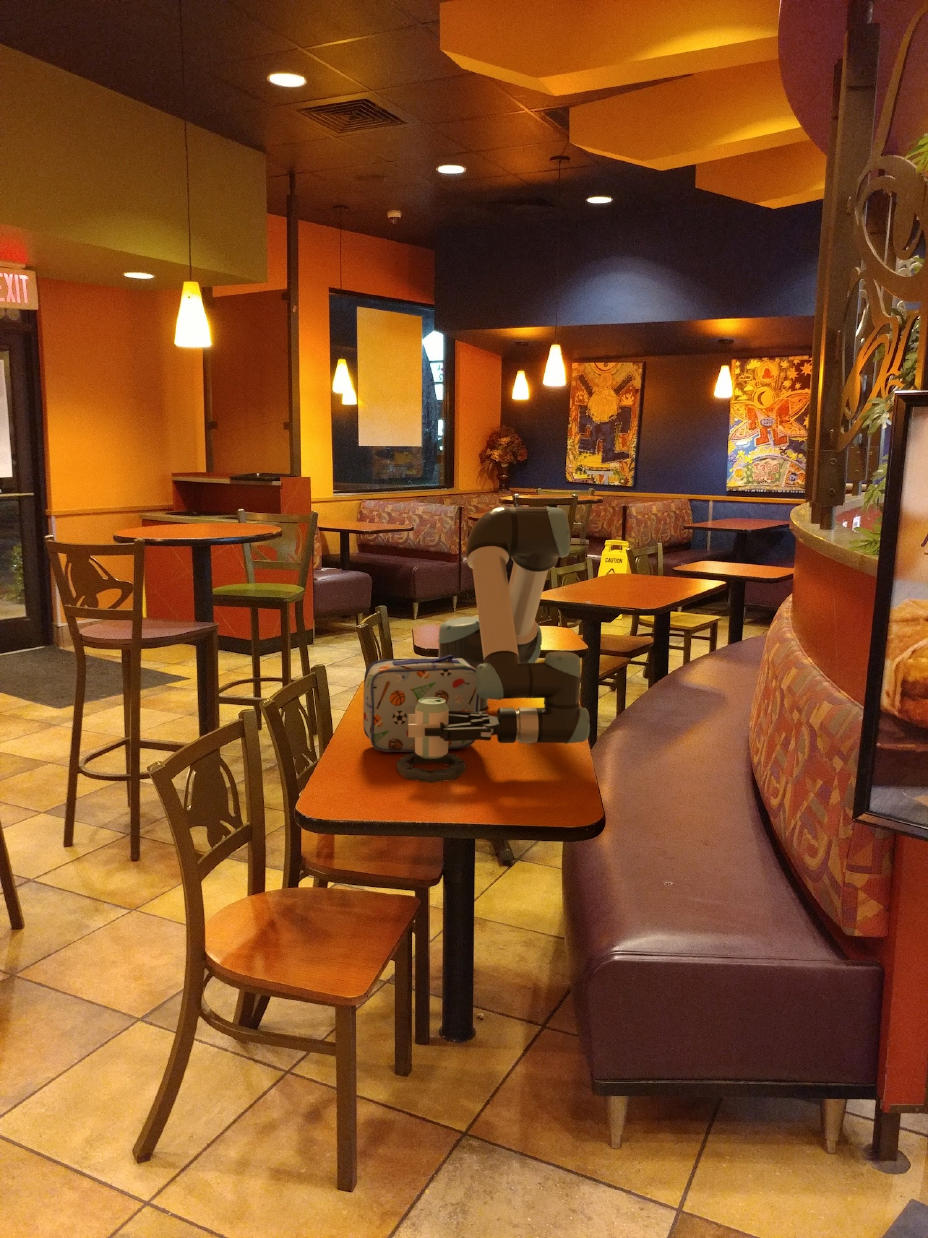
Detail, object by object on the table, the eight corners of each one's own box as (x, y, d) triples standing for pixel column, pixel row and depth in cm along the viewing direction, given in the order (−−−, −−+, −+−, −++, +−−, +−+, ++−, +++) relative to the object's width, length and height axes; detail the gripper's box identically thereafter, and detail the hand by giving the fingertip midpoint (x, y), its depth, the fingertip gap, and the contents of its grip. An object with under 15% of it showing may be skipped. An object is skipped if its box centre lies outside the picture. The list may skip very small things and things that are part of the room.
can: (423, 748, 210) (423, 694, 208) (452, 752, 207) (453, 698, 205) (409, 757, 203) (409, 702, 201) (440, 761, 201) (440, 706, 199)
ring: (415, 757, 215) (415, 748, 214) (472, 765, 210) (472, 756, 210) (388, 776, 202) (388, 767, 202) (448, 785, 197) (448, 776, 197)
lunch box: (474, 737, 230) (476, 647, 226) (487, 750, 221) (489, 656, 217) (360, 744, 223) (360, 651, 219) (368, 758, 213) (368, 662, 209)
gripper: (521, 757, 196) (408, 757, 195) (510, 728, 216) (408, 728, 214) (522, 721, 195) (408, 721, 193) (511, 696, 214) (408, 696, 213)
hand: (408, 725), depth 204 cm, fingers closed on can, 7 cm apart
